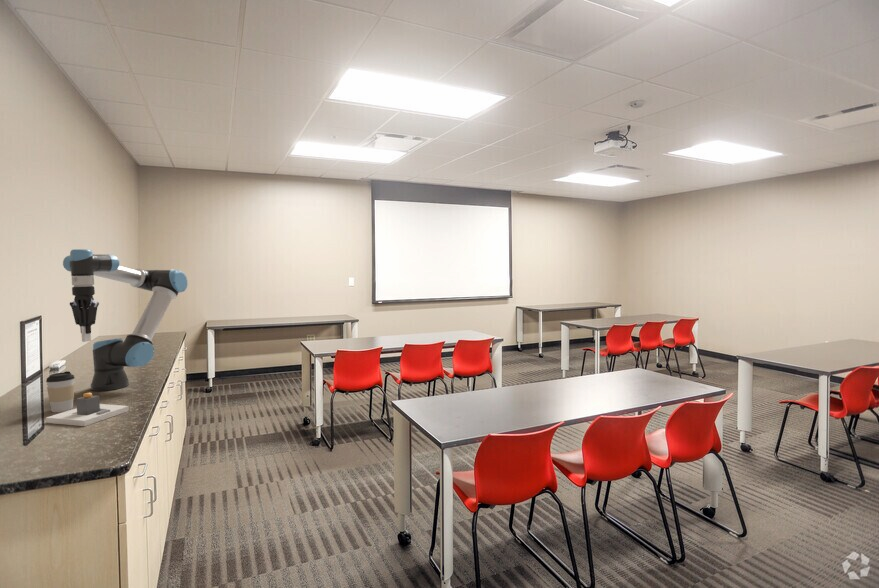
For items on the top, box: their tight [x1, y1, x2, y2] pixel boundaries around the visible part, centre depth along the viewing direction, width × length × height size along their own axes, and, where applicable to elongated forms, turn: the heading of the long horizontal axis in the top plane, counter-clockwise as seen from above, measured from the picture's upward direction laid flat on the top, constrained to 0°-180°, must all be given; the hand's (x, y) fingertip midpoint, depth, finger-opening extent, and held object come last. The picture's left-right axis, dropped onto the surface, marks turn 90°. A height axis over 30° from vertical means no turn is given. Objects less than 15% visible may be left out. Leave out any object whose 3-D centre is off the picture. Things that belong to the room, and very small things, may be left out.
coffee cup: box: [45, 370, 75, 413], centre depth 187 cm, size 9×9×15 cm
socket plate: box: [45, 403, 130, 427], centre depth 178 cm, size 18×18×3 cm
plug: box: [75, 392, 101, 415], centre depth 178 cm, size 5×5×8 cm
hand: (86, 341), depth 196 cm, fingers closed
